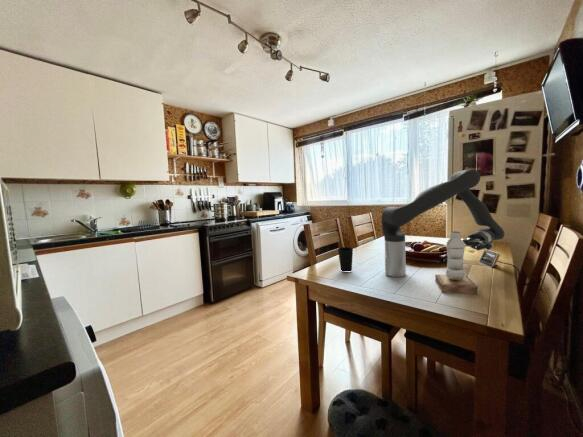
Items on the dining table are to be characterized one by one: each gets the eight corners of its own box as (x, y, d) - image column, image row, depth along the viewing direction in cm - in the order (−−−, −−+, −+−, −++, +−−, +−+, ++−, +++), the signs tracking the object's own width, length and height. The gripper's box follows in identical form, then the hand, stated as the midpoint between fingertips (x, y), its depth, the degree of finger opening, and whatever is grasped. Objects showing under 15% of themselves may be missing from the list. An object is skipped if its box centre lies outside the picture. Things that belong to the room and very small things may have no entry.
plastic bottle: (442, 277, 108) (442, 231, 105) (457, 275, 108) (457, 230, 106) (452, 283, 101) (453, 234, 99) (468, 281, 102) (469, 232, 99)
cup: (354, 273, 129) (353, 250, 127) (338, 273, 131) (337, 251, 129) (353, 268, 136) (352, 247, 135) (339, 268, 138) (338, 247, 136)
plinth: (442, 292, 101) (442, 284, 101) (435, 281, 112) (435, 274, 112) (477, 294, 97) (477, 286, 97) (466, 282, 109) (466, 275, 108)
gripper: (462, 230, 124) (448, 236, 115) (498, 233, 113) (486, 240, 103) (461, 245, 125) (447, 252, 116) (497, 249, 114) (485, 257, 104)
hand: (465, 246), depth 109 cm, fingers open, 8 cm apart
